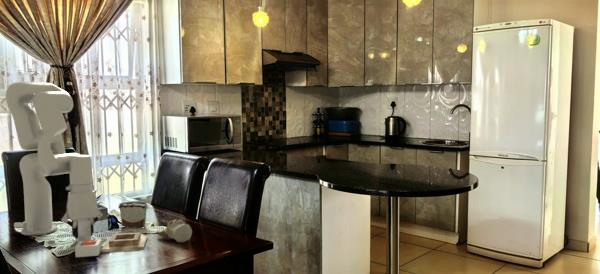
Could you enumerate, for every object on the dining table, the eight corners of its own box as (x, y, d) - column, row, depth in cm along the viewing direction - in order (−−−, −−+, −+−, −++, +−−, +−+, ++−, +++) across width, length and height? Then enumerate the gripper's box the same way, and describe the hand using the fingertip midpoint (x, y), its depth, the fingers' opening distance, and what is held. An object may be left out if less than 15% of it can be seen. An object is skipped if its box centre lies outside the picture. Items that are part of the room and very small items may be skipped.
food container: (153, 224, 199) (152, 201, 199) (147, 228, 193) (146, 204, 192) (125, 223, 200) (125, 200, 200) (118, 227, 194) (118, 203, 194)
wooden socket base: (101, 252, 162) (101, 243, 162) (108, 240, 176) (107, 232, 175) (143, 249, 165) (143, 240, 165) (147, 238, 179) (147, 230, 179)
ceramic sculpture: (172, 222, 168) (154, 217, 179) (173, 246, 168) (155, 239, 180) (198, 217, 175) (180, 213, 186) (199, 240, 175) (181, 234, 187)
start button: (81, 249, 158) (80, 243, 158) (83, 245, 162) (83, 240, 162) (93, 248, 159) (93, 242, 159) (96, 245, 163) (95, 239, 163)
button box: (75, 257, 157) (75, 246, 157) (80, 250, 164) (79, 241, 163) (97, 255, 158) (97, 245, 158) (101, 249, 165) (101, 239, 165)
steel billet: (78, 243, 172) (77, 221, 172) (75, 240, 176) (74, 219, 175) (91, 241, 175) (90, 220, 174) (88, 238, 178) (87, 217, 178)
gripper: (58, 192, 166) (60, 243, 167) (108, 187, 176) (109, 234, 178) (54, 189, 172) (56, 238, 173) (102, 184, 182) (103, 230, 183)
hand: (83, 235), depth 175 cm, fingers closed on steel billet, 4 cm apart
